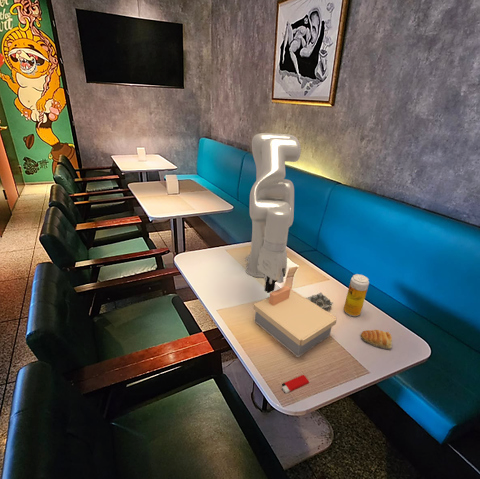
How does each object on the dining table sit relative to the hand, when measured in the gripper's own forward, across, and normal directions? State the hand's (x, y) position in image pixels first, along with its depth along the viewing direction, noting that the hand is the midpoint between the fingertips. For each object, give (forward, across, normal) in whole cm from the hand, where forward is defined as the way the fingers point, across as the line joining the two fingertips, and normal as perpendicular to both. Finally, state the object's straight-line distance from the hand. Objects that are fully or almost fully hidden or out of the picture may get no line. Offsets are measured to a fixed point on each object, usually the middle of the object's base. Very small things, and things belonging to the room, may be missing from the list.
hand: (269, 290), depth 108 cm
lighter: (+10, +28, -16) cm, 34 cm away
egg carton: (+9, +9, +17) cm, 21 cm away
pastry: (+9, +33, +20) cm, 39 cm away
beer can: (+9, +19, +26) cm, 33 cm away
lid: (+3, +12, 0) cm, 13 cm away
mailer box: (+9, +12, 0) cm, 15 cm away
